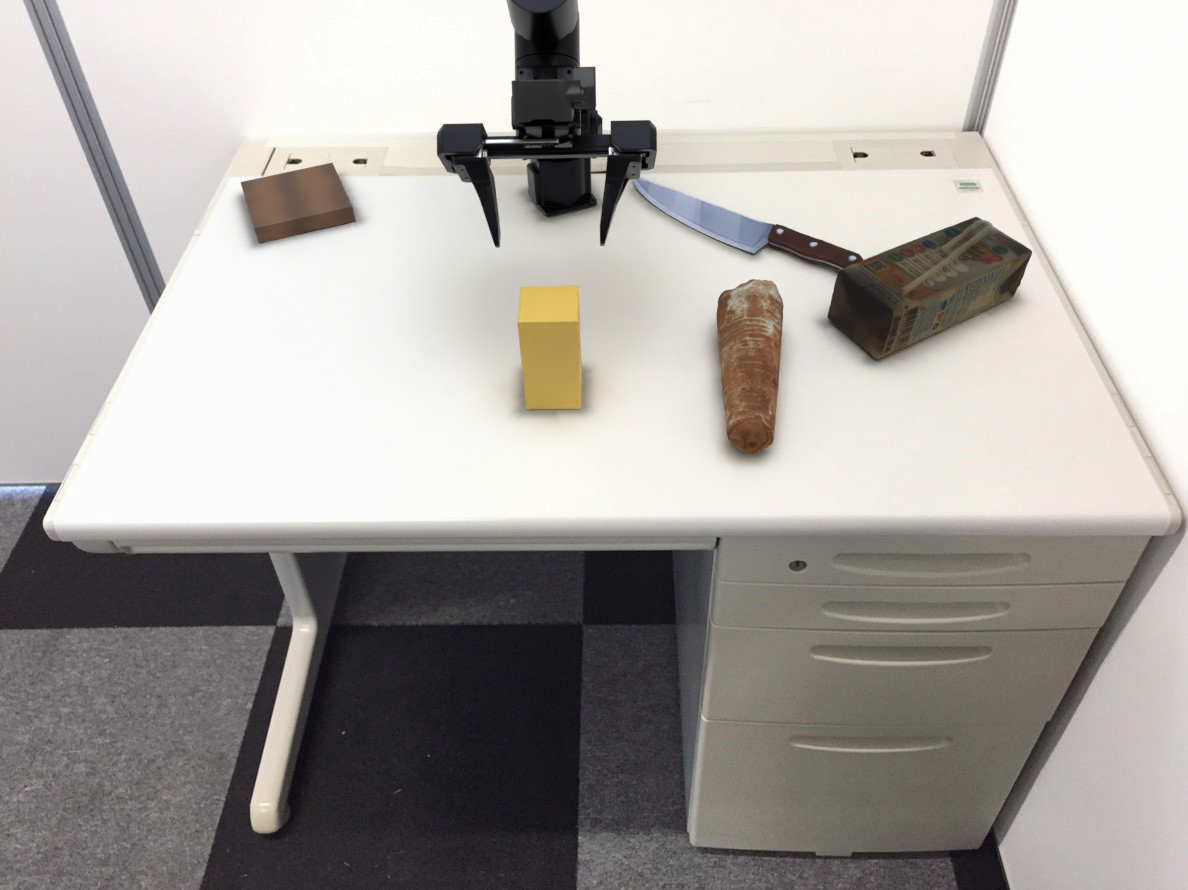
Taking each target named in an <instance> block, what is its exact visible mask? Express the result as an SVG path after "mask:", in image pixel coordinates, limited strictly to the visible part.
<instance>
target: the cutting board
mask: <svg viewBox="0 0 1188 890" xmlns="http://www.w3.org/2000/svg"><path fill="white" fill-rule="evenodd" d="M240 186H241V190H242V193H243V196H244V200H245V204H246V206H247V210H248V213H249V216H250V219H251V223H252V227H253V230H254V233H255V235H256V239H257V242H258V244H262V243H266V242H272V241H275V240H279V239H283V238H284V239H285V238H288V237H292V236H296V235H301V234H305V233H310V232H314V231H318V230H322V229H327V228H332V227H336V226H340V225H344V224H349V223H354V222H356V217H355V212H354V208H353V205H352V203H351V201H350V198H349V196H348V194H347V191H346V189H345V187H344V185H343V182H342V179H341V178H340V176H339V173H338V171H337V169H336V167H335V165H334V163H333V162H328V163H323V164H319V165H314V166H310V167H305V168H299V169H296V170H295V169H294V170H291V171H285V172H281V173H277V174H273V175H266V176H263V177H258V178H253V179H247V180H244V181H240Z"/></svg>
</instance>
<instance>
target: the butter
mask: <svg viewBox="0 0 1188 890" xmlns="http://www.w3.org/2000/svg"><path fill="white" fill-rule="evenodd" d="M579 288H580V287H579V285H536V286H533V285H531V286H530V285H529V286H520V291H519V300H518V301H519V302H518V312H517V323H516V324H517V331H518V341H519V350H520V363H521V372H522V381H523V391H524V401H525V409H526V410H573V409H574V410H581V409H582V392H583V391H582V390H583V387H582V386H583V367H582V366H583V365H582V362H583V361H582V342H581V341H582V339H581V337H582V336H581V314H580V289H579Z"/></svg>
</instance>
